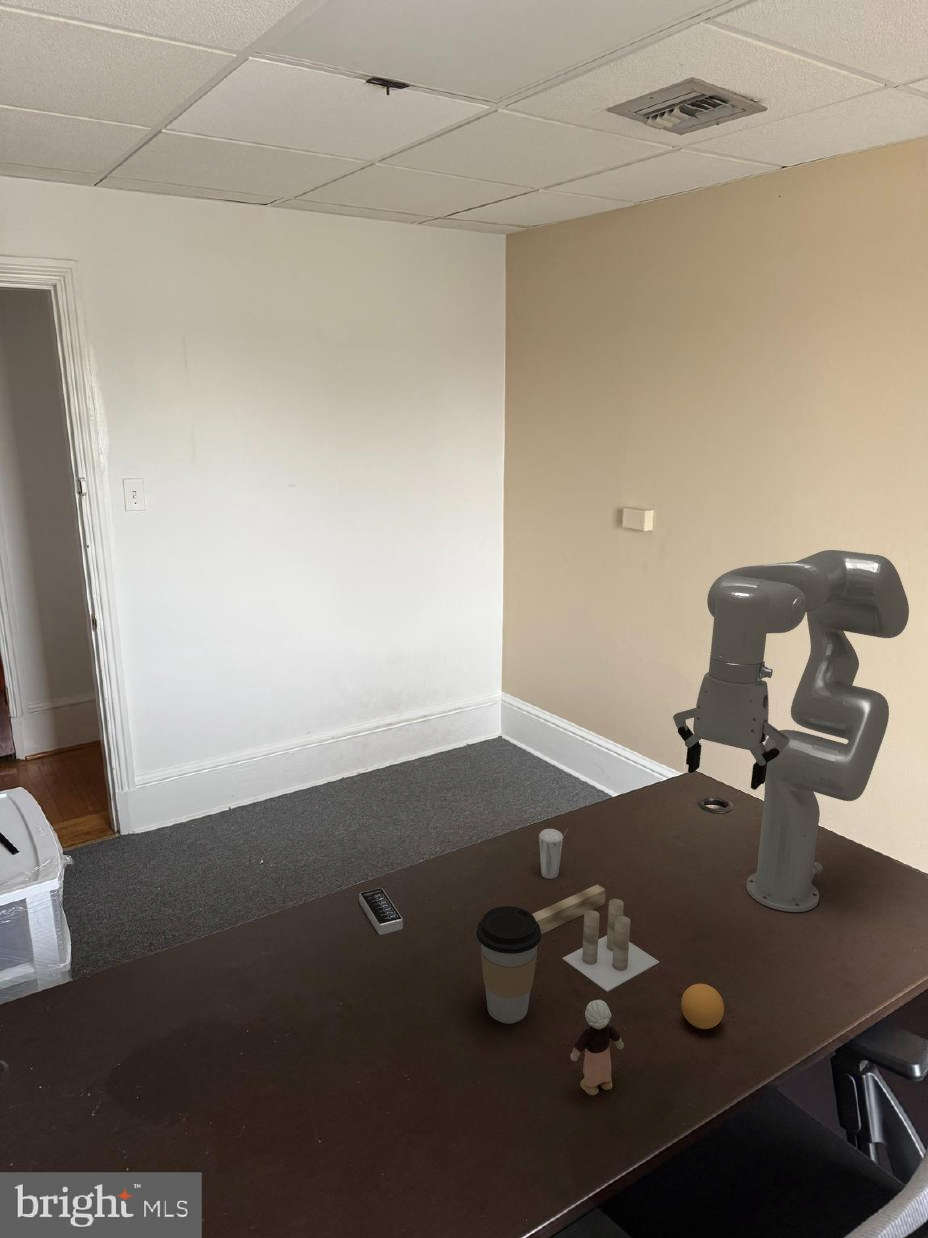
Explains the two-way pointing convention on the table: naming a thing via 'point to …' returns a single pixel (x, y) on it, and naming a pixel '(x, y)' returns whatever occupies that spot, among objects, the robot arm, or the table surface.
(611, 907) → the right pin
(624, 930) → the front pin
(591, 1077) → the grandmother figurine
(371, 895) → the multiport hub
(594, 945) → the left pin
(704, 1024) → the ball
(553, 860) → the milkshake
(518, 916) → the coffee cup
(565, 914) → the back rail
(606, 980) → the pin deck mark
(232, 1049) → the table surface
